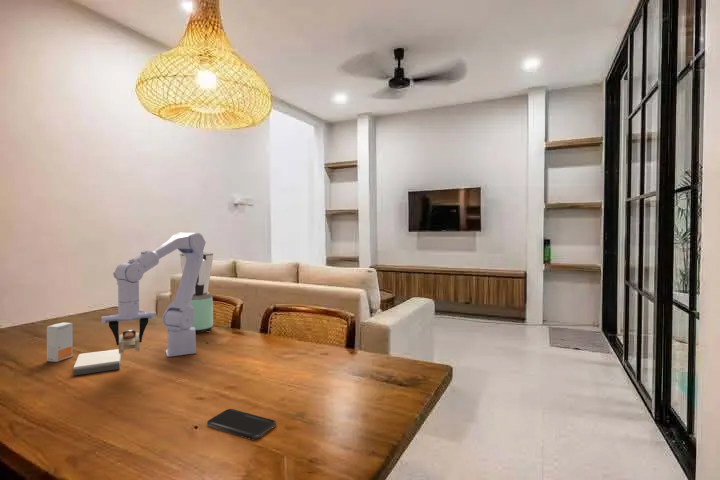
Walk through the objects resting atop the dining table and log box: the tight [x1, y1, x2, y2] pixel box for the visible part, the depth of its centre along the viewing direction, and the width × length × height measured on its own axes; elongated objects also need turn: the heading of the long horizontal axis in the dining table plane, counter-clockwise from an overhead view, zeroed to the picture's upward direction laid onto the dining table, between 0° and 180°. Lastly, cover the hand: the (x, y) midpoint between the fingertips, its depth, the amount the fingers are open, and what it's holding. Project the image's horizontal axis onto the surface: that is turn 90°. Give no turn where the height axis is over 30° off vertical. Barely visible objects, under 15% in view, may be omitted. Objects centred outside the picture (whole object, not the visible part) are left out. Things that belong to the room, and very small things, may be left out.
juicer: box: [179, 251, 214, 333], centre depth 169 cm, size 19×13×35 cm
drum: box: [122, 329, 137, 339], centre depth 124 cm, size 4×4×2 cm
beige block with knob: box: [118, 331, 140, 355], centre depth 124 cm, size 6×10×4 cm, turn 30°
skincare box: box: [46, 322, 74, 363], centre depth 134 cm, size 6×4×12 cm
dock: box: [72, 348, 122, 376], centre depth 128 cm, size 12×15×2 cm
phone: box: [206, 408, 277, 440], centre depth 91 cm, size 8×1×15 cm
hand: (129, 343), depth 124 cm, fingers closed on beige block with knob, 5 cm apart
